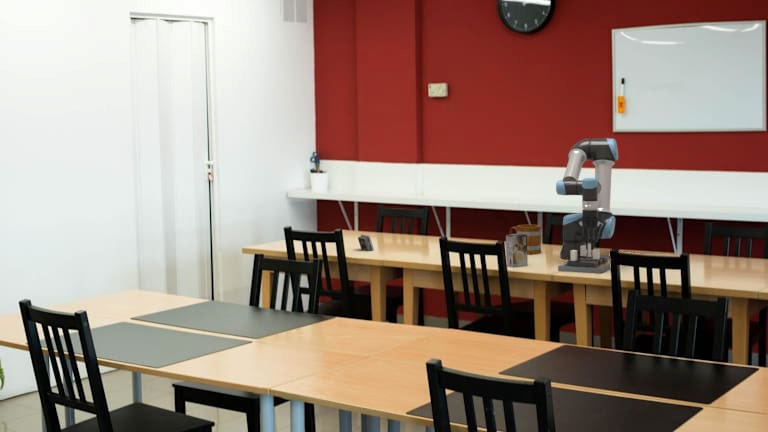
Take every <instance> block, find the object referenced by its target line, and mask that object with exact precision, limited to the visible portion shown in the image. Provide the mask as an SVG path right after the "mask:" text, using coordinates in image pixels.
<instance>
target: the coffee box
mask: <svg viewBox="0 0 768 432" xmlns="http://www.w3.org/2000/svg"><path fill="white" fill-rule="evenodd" d="M505 253H506V254H505V255H506V259H505V260H506V261H507V264H506V266H507V267H512V268H515V267H523V266H524V267H525V266H528V263H529V262H528V255H527V234H521V233H518V234H517V233H513V234H510V233H509V234H505Z"/></svg>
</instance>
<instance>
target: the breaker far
mask: <svg viewBox="0 0 768 432" xmlns="http://www.w3.org/2000/svg"><path fill="white" fill-rule="evenodd" d="M580 256H587V250H586V245H582V246H580Z"/></svg>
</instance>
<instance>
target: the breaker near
mask: <svg viewBox="0 0 768 432" xmlns="http://www.w3.org/2000/svg"><path fill="white" fill-rule="evenodd" d="M570 260H571V261H577V250H571V259H570Z"/></svg>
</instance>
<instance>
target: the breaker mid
mask: <svg viewBox="0 0 768 432" xmlns="http://www.w3.org/2000/svg"><path fill="white" fill-rule="evenodd" d="M600 251H601V250H600V248H595V247H594V249H593V250H592V256H593V259H600V256H601V254H600Z"/></svg>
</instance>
